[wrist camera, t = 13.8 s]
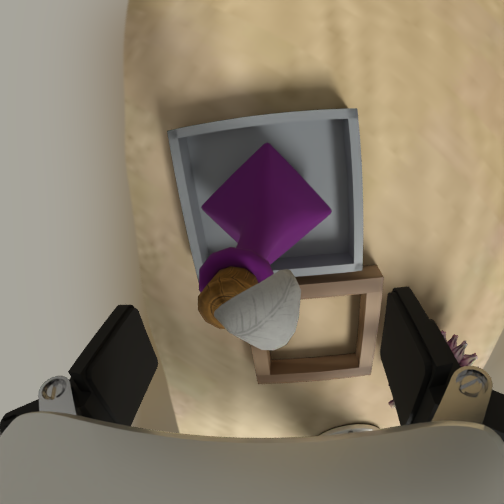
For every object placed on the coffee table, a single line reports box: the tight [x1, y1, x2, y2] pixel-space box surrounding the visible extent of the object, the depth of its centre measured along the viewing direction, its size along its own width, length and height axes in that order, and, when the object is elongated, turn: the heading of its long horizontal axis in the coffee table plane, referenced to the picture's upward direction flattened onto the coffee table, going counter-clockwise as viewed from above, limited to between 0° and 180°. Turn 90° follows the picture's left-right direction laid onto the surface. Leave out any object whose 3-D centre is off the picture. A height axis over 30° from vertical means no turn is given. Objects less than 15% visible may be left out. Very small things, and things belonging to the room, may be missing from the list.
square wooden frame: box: [251, 265, 384, 384], centre depth 32 cm, size 14×14×2 cm
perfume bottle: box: [198, 143, 332, 350], centre depth 19 cm, size 8×8×18 cm
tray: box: [167, 108, 363, 282], centre depth 26 cm, size 14×15×3 cm
